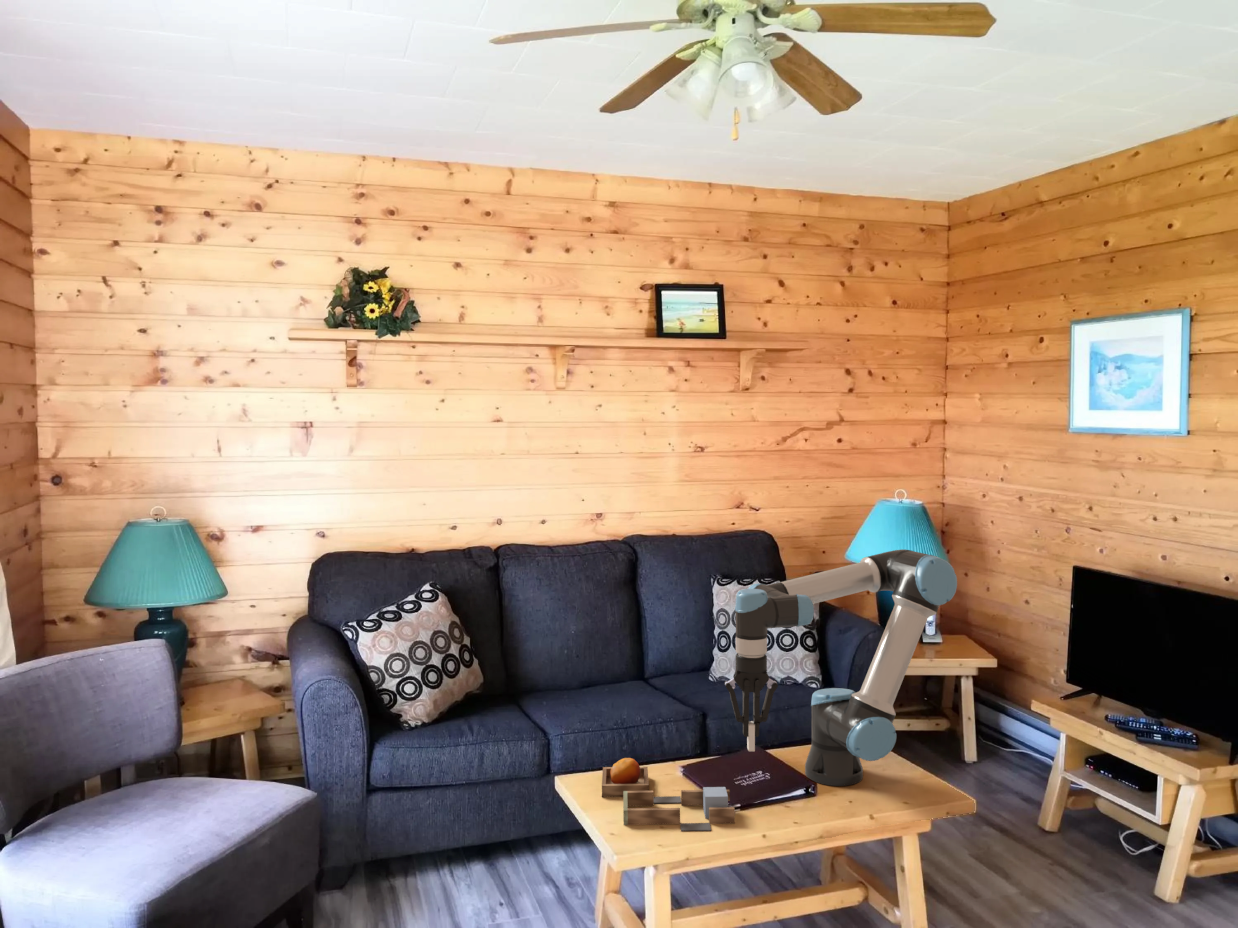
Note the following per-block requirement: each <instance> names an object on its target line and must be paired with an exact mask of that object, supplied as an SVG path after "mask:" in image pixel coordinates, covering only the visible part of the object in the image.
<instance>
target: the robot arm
mask: <svg viewBox="0 0 1238 928" xmlns="http://www.w3.org/2000/svg"><path fill="white" fill-rule="evenodd" d="M957 587H958V576H957V574H956V573H955V568H954V567H953V566H952V564H950V563H949V562H948V561H947V560H946V559H945V558H944V559H943V558H941V557H938V556H936V555H933V554H928V553H924V552H918V551H915V550H911V549H895V550H890V551H885V552H881V553H877V554H874V555H870V556H865V557H863V558H861V559H860V562H857V563H852V564H849V565H845V566H840V567H836V568H833V569H828V570H824V571H821V572H816V573H812V574H809V575H803V576H800V577H796V578H792V579H788V580H784V581H780V582H776V583H771V584H765V583H754V584H752V585H750V586H749V587H748V588H744V589H740V590H739V591H737V592H736V596H735V597H736V598H735V608H734V611H735V653H736V654H735V671H734V674H733V678H731V679H729V680H725V681H724V685H725V688H726V689H727V691H728V693H729V697H730V701H731V705H732V708H733V713H734V716H735V720H736V722H737V723H741V724H742V734H743V737H744V738H746V744H747V745H746V748H747V751H748V752H755V751H756V745H755V744H756V738H757V737H759V736H760V724H761V723H765V722H767V720H768V717H769V714H770V710H771V709H770V708H771V705H772V703H773V702H772V701H773V697H774V693H775V691H776V690H777V689H778V687H779V684H778V683H777V681H776V680H774V679H771V678H770V676H769V674H768V655H767V653H768V629H776V628H780V629H781V628H790V627H796V628H798V627H802V626H808V625H810V624H811V623H812V621H813V620H814V617H815V609H814V604H819V603H822V602H825V601H831V600H834V599H837V598H842V597H845V596H850V595H853V594H858V593H861V592H866V591H869V592H870V593H878V592H881V591H886V592H887V591H890V592H892V595H891V597H892V600H893V602H894V605H893V609H892V611H891V613H890V616H889V618H888V620H887V622H886V626H885V629H884V630H883V633H882V635H881V638H880V641H879V643H878V646H877V648H876V651H875V653H874V655H873V658H872V661H871V663H870V665H869V667H868V670H867V673H866V675H865V677H864V680H863V682H862V685H861V687H860V690H859V691H857V692H856V691H854V690H853V689H848V688H839V687H831V688H829V687H828V688H822V689H818V690H815V691H814V692H813V693H812V695H811V702H810V703H811V704H810V707H811V709H810V710H811V746H810V748H809V753H808V754H807V758H806V761H805V764H804V773H805V776H806V778H808V779H809V780H811V781H812V782H815V783H817V784H822V785H825V786H834V787H845V786H852V785H855V784H858V783H860V782H861V781H862V780H863V779H864V769H863V765H862V761H861V760H863V761H867V762H873V761H879V760H880V759H883V758H885V757H886V756H887V755H888V754H890V752H891V751H892V750H893V748H894V747H895V745H896V742H897V732H896V727H895V726H894V721H895V717H896V714H897V713H896V710H895V709H894V703H895V701H896V698H897V696H898V693H899V690H900V689H901V685H902V683H903V680H904V678H905V675H906V673H907V671H908V669H909V665H910V664H911V661H912V658H913V656H914V653H915V651H916V648H917V645H918V643H919V640H920V638H921V636H922V633H923V631H924V629H925V627H926V623H927V620H928V618H930V617H931V616H932V617H933V616H935V615H937V613H938V610H939V608H940V606H942V605H945V604H946V603H947V602H950V601H951V600H952V599H953V598H954V596H955V594H956V592H957ZM736 684H737V686H738V687H739V689H740V690H741V691H742V692H741V693H742V715H741V712H740V708H739V704H738V699H737V695H736V692H735V689H736ZM765 686H766V688H767V689H766V691H765V692H766V693H765V698H764V702H763V705H762V708H761V707H760V706H761V705H760V701H761V699H760V696H761V691H762V690H763V689H764V687H765ZM750 693H752V695H753V696H752V700H753V701H752V703H753V704H752V719H753V720H751V721H750ZM760 708H761V709H760ZM760 711H761V712H760Z"/></svg>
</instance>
